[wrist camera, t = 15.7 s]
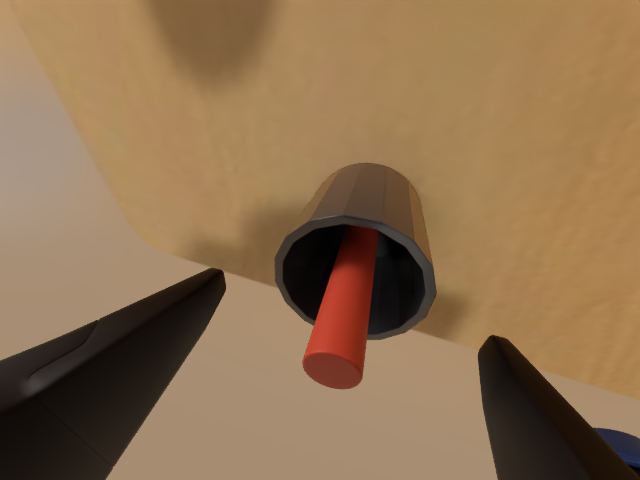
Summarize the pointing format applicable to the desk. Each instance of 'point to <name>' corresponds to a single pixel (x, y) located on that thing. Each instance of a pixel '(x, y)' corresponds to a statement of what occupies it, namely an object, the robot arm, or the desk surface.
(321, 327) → the straw
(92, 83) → the desk surface
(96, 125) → the desk surface
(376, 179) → the tin
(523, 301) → the desk surface
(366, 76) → the desk surface
